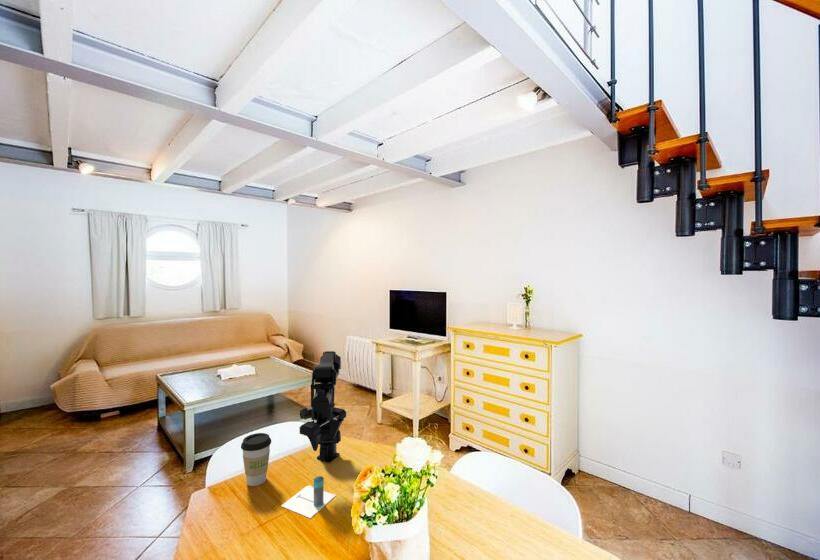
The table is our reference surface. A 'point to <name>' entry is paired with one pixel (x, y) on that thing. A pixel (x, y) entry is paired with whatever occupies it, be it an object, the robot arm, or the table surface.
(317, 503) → the marker
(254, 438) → the coffee cup
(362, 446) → the table surface
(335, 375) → the robot arm
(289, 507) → the paper
